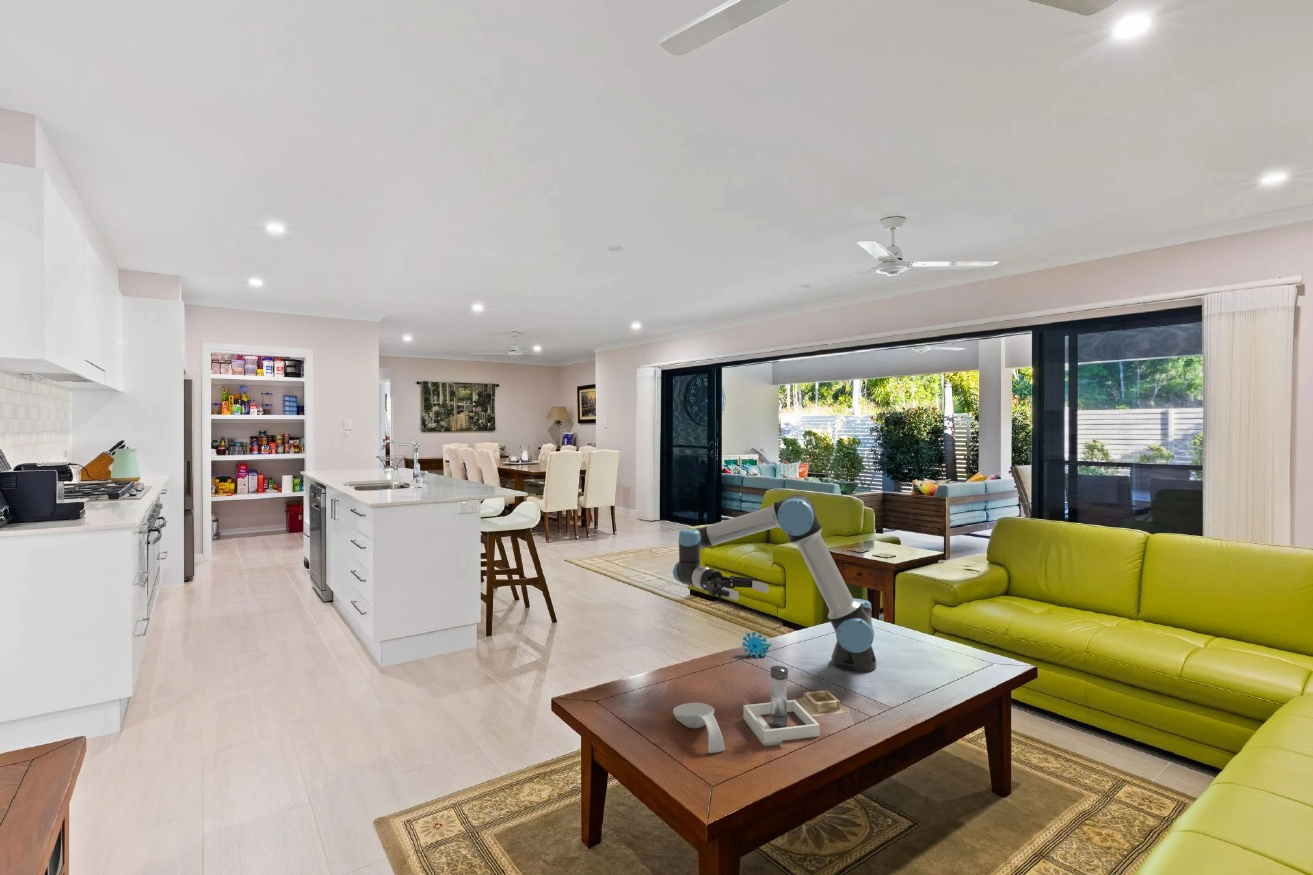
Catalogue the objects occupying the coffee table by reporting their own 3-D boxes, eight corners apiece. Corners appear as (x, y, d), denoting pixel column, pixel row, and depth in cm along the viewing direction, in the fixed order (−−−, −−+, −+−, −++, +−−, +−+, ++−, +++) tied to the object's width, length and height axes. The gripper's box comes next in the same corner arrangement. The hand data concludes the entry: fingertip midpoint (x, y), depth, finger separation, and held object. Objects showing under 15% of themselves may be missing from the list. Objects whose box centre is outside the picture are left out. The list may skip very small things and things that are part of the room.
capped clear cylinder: (785, 720, 183) (785, 665, 183) (788, 728, 178) (789, 672, 178) (768, 720, 183) (769, 665, 182) (771, 729, 178) (772, 672, 178)
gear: (744, 655, 232) (741, 629, 239) (739, 662, 236) (737, 637, 243) (773, 657, 233) (770, 632, 240) (768, 664, 237) (765, 639, 244)
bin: (794, 712, 190) (794, 699, 190) (819, 739, 174) (819, 724, 174) (743, 718, 186) (743, 705, 186) (764, 746, 171) (764, 731, 171)
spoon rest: (667, 716, 188) (667, 692, 188) (704, 711, 192) (704, 687, 192) (697, 757, 166) (697, 730, 166) (738, 749, 170) (738, 723, 169)
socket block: (830, 697, 200) (830, 686, 200) (849, 715, 188) (849, 703, 188) (794, 701, 197) (794, 690, 197) (811, 719, 186) (811, 707, 185)
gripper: (734, 584, 228) (779, 597, 212) (680, 596, 213) (724, 611, 196) (734, 563, 228) (779, 574, 211) (679, 574, 213) (724, 587, 196)
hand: (753, 592), depth 204 cm, fingers open, 13 cm apart
